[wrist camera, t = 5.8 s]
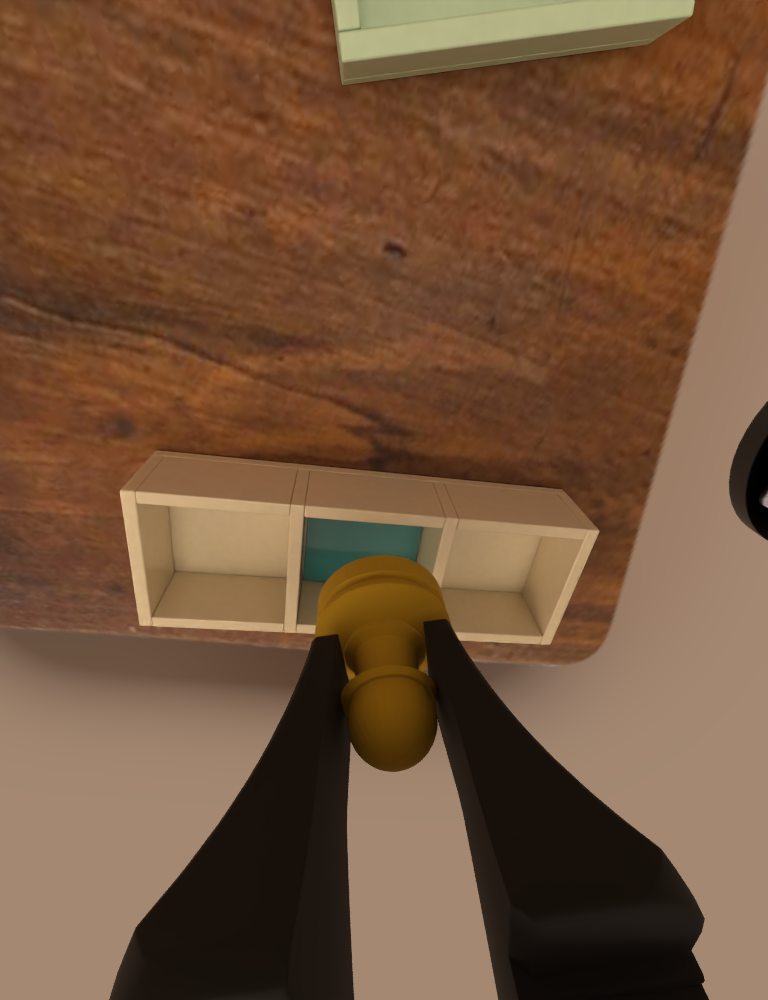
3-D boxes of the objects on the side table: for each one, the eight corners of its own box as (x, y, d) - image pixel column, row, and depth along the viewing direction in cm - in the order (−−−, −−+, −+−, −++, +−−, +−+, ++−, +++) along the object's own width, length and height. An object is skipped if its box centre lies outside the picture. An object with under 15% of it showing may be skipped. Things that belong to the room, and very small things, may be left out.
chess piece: (468, 589, 14) (523, 741, 10) (395, 666, 16) (414, 827, 11) (363, 532, 13) (372, 679, 9) (293, 622, 14) (271, 786, 10)
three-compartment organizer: (563, 489, 21) (600, 530, 18) (524, 594, 24) (550, 645, 21) (155, 449, 18) (118, 490, 15) (168, 571, 21) (139, 626, 18)
